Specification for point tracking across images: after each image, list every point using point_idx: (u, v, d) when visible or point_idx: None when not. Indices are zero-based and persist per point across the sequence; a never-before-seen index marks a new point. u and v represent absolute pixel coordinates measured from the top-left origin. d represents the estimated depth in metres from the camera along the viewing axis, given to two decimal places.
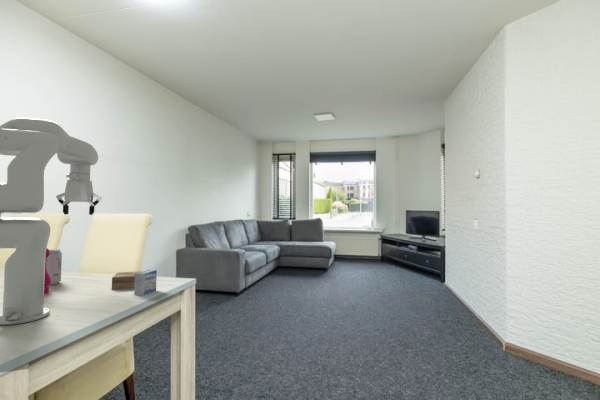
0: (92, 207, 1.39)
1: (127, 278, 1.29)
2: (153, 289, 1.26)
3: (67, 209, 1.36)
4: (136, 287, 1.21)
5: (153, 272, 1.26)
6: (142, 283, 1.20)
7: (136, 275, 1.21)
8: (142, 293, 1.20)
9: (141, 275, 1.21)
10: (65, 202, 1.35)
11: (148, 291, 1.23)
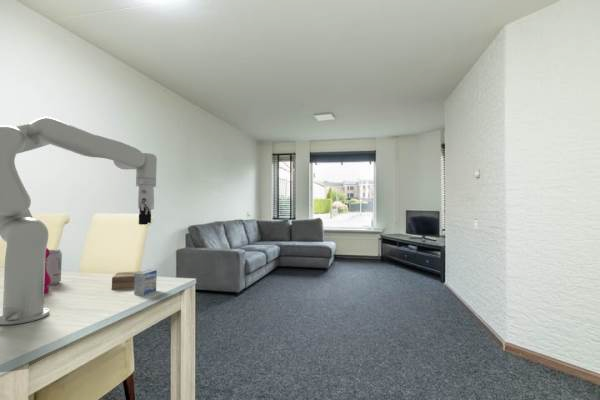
0: None
1: (127, 278, 1.29)
2: (153, 289, 1.26)
3: None
4: (136, 287, 1.21)
5: (153, 272, 1.26)
6: (142, 283, 1.20)
7: (136, 275, 1.21)
8: (142, 293, 1.20)
9: (141, 275, 1.21)
10: (147, 211, 1.22)
11: (148, 291, 1.23)
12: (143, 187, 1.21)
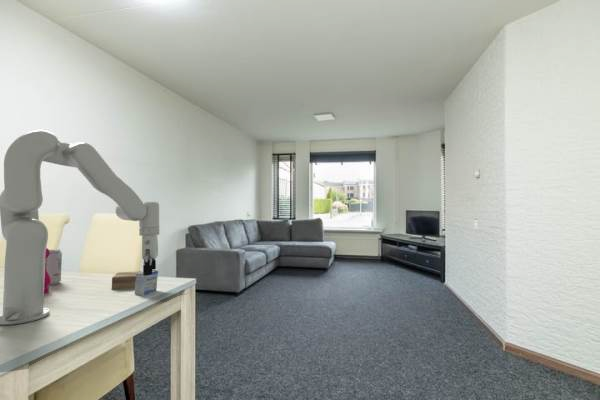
0: None
1: (127, 278, 1.29)
2: (153, 289, 1.26)
3: None
4: (136, 287, 1.21)
5: (154, 273, 1.26)
6: (143, 283, 1.20)
7: (137, 275, 1.21)
8: (142, 293, 1.20)
9: (143, 275, 1.20)
10: (151, 261, 1.21)
11: (148, 291, 1.23)
12: (146, 237, 1.21)
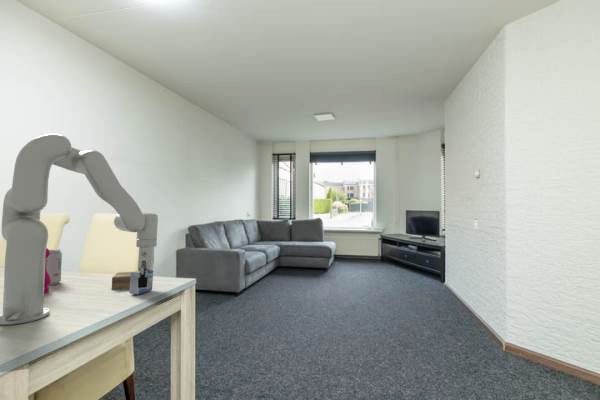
0: None
1: (127, 278, 1.29)
2: (149, 289, 1.25)
3: None
4: (131, 286, 1.20)
5: (149, 271, 1.25)
6: (137, 282, 1.20)
7: (132, 274, 1.20)
8: (137, 292, 1.19)
9: (137, 273, 1.20)
10: None
11: (143, 290, 1.22)
12: (143, 249, 1.20)
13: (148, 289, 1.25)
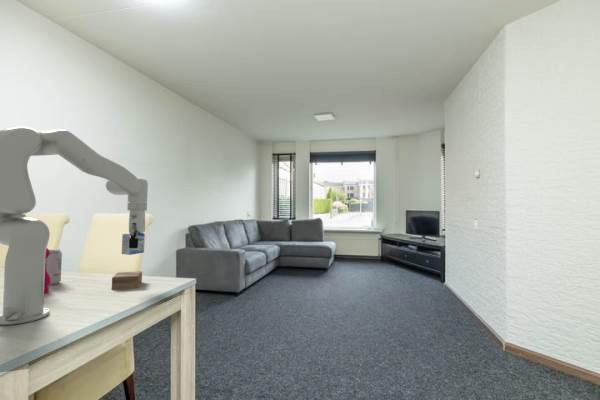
0: None
1: (127, 278, 1.29)
2: (140, 251, 1.31)
3: None
4: (123, 247, 1.26)
5: (141, 234, 1.31)
6: None
7: (123, 235, 1.27)
8: (128, 252, 1.25)
9: (128, 235, 1.26)
10: (137, 235, 1.26)
11: (135, 252, 1.28)
12: (134, 212, 1.26)
13: (140, 251, 1.31)
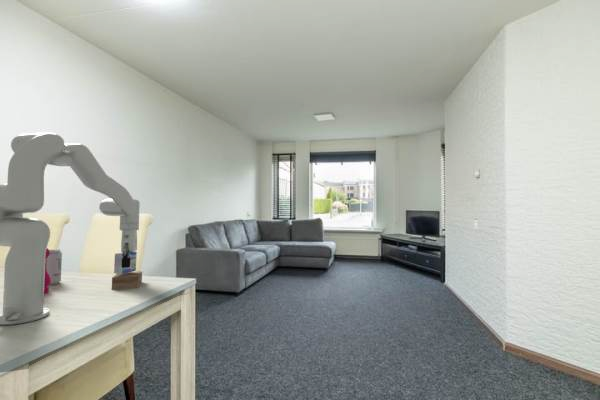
0: None
1: (127, 278, 1.29)
2: (132, 269, 1.35)
3: None
4: (115, 266, 1.30)
5: (133, 253, 1.35)
6: (121, 262, 1.29)
7: (116, 255, 1.30)
8: (121, 271, 1.29)
9: (120, 255, 1.30)
10: (129, 254, 1.30)
11: (127, 270, 1.32)
12: (126, 232, 1.30)
13: (132, 269, 1.34)
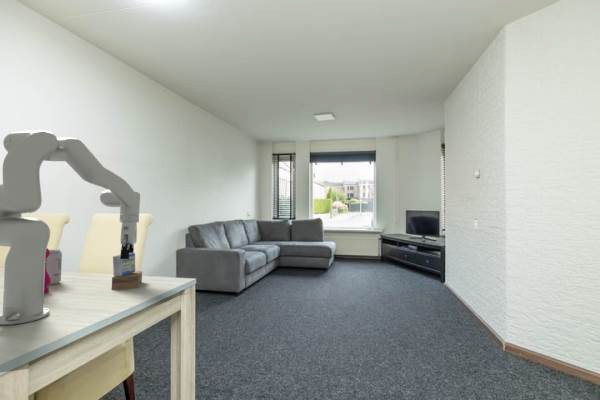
0: None
1: (127, 278, 1.29)
2: (132, 270, 1.35)
3: None
4: (114, 269, 1.30)
5: (131, 255, 1.34)
6: (120, 265, 1.29)
7: (114, 258, 1.29)
8: (120, 274, 1.29)
9: (118, 257, 1.29)
10: (128, 246, 1.29)
11: (126, 272, 1.32)
12: (126, 224, 1.30)
13: (131, 271, 1.34)
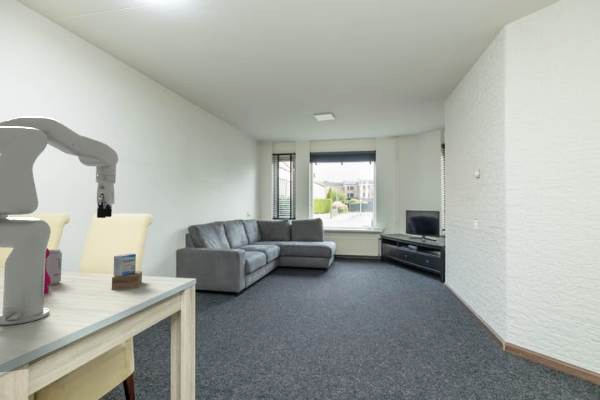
0: None
1: (127, 278, 1.29)
2: (132, 271, 1.35)
3: None
4: (115, 269, 1.30)
5: (132, 255, 1.35)
6: (120, 265, 1.29)
7: (115, 257, 1.30)
8: (120, 274, 1.29)
9: (119, 257, 1.29)
10: (105, 205, 1.31)
11: (126, 273, 1.32)
12: (101, 183, 1.31)
13: (131, 271, 1.34)
